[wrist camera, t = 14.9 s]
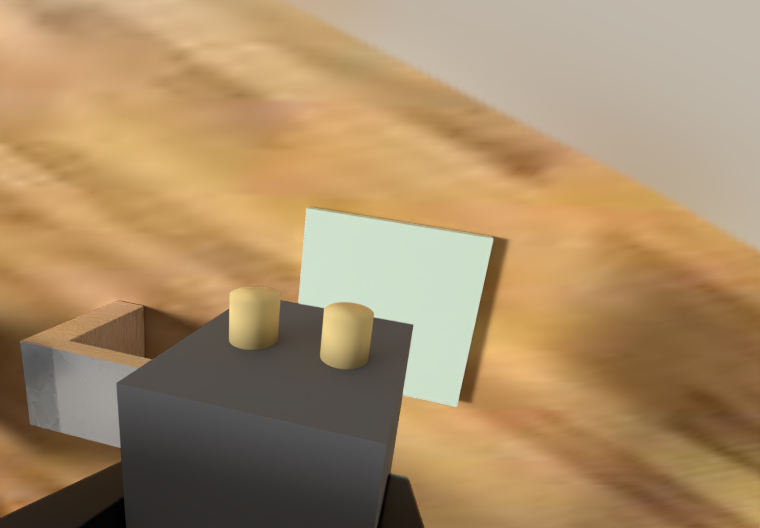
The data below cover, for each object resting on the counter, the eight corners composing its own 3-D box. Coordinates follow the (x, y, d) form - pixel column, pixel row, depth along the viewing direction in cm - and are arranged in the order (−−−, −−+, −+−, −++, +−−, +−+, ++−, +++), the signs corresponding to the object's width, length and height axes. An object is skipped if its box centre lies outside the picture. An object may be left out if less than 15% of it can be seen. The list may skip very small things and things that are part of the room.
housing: (117, 300, 20) (20, 340, 16) (261, 330, 19) (202, 382, 15) (120, 368, 22) (29, 424, 17) (257, 399, 21) (200, 468, 16)
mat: (311, 206, 18) (306, 208, 17) (491, 236, 16) (493, 238, 16) (296, 365, 20) (292, 371, 19) (456, 399, 19) (456, 406, 18)
